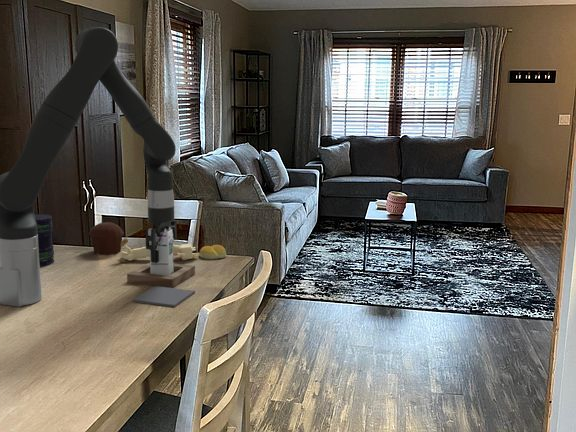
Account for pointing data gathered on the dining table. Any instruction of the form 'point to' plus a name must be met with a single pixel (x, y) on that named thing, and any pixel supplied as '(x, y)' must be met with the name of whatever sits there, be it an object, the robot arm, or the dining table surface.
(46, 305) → the dining table surface
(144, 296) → the charcoal mat
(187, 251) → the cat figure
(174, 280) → the walnut socket
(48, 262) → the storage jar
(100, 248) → the muffin
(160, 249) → the syrup box
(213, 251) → the bread roll
